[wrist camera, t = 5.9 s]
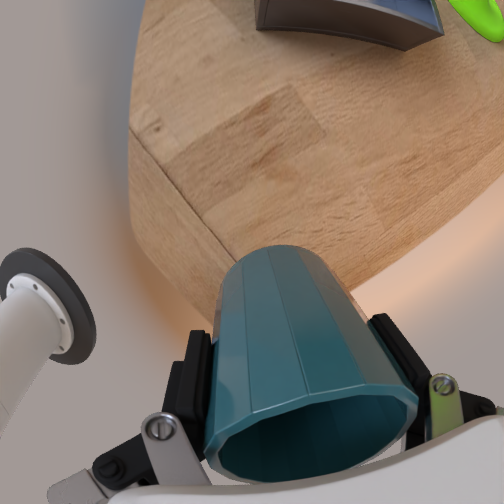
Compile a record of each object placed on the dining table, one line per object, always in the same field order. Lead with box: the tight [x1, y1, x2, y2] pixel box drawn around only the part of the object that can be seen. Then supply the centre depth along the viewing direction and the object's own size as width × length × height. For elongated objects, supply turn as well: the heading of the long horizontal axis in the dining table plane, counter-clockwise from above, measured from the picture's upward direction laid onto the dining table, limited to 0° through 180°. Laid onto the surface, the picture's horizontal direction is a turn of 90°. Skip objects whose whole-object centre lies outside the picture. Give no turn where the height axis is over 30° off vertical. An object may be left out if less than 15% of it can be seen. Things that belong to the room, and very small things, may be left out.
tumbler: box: [203, 245, 419, 484], centre depth 10 cm, size 7×7×9 cm
